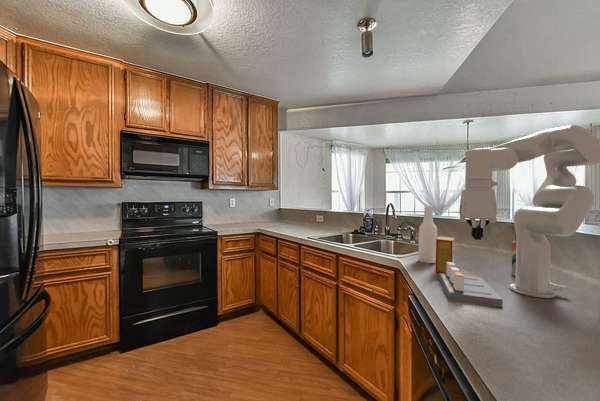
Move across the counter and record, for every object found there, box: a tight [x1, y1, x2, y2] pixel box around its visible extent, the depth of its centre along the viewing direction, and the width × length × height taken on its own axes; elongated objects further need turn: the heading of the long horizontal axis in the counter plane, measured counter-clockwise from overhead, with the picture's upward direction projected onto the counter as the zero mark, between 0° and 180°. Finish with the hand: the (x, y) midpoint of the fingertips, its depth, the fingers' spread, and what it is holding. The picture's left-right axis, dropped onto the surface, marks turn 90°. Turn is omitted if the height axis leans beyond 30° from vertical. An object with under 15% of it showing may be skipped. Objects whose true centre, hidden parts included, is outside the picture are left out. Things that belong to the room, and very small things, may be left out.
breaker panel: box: [438, 273, 504, 308], centre depth 98 cm, size 15×24×3 cm, turn 159°
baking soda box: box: [435, 236, 456, 274], centre depth 123 cm, size 10×6×16 cm
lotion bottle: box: [511, 231, 516, 277], centre depth 117 cm, size 6×6×20 cm
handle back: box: [446, 262, 456, 277], centre depth 107 cm, size 2×4×5 cm, turn 159°
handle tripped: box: [453, 271, 465, 291], centre depth 92 cm, size 2×4×5 cm, turn 159°
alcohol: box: [417, 205, 438, 264], centre depth 141 cm, size 9×9×30 cm
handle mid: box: [450, 266, 461, 283], centre depth 100 cm, size 2×4×5 cm, turn 159°
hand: (477, 239), depth 90 cm, fingers closed
